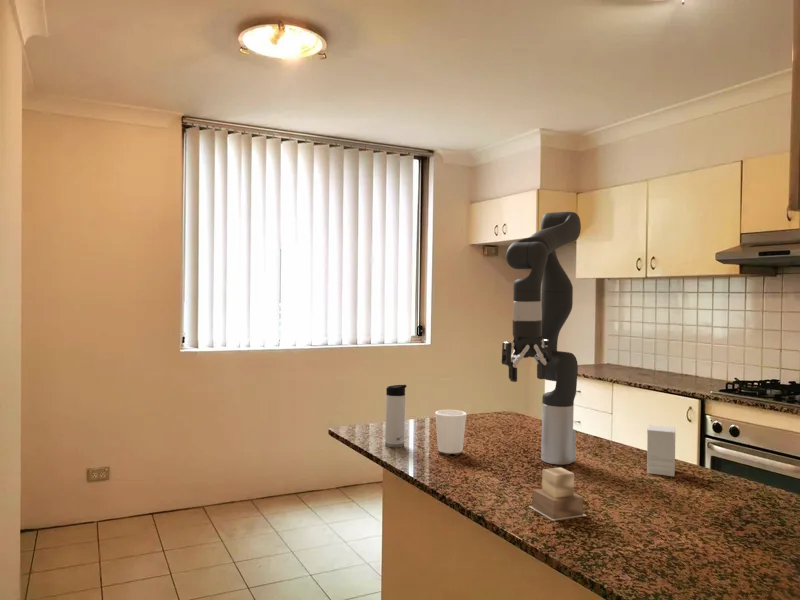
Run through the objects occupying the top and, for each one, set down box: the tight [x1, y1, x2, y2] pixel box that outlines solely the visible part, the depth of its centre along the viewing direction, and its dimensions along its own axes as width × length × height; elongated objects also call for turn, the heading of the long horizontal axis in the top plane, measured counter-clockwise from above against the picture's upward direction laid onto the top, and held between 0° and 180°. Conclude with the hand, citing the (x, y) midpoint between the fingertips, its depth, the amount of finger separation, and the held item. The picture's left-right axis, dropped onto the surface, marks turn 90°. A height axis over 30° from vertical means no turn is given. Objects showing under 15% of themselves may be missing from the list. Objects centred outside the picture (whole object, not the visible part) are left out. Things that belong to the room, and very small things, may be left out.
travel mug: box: [384, 384, 407, 449], centre depth 198 cm, size 6×7×20 cm
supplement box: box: [646, 424, 676, 477], centre depth 174 cm, size 7×7×13 cm
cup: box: [434, 409, 467, 457], centre depth 190 cm, size 10×10×13 cm
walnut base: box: [531, 488, 584, 519], centre depth 138 cm, size 8×8×4 cm
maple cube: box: [541, 466, 575, 498], centre depth 138 cm, size 5×5×5 cm
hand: (527, 380), depth 159 cm, fingers open, 8 cm apart
